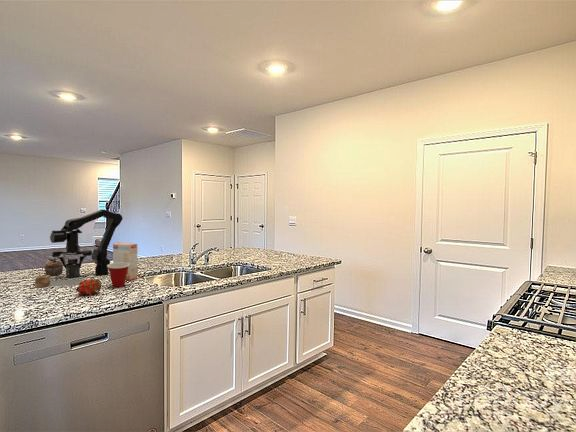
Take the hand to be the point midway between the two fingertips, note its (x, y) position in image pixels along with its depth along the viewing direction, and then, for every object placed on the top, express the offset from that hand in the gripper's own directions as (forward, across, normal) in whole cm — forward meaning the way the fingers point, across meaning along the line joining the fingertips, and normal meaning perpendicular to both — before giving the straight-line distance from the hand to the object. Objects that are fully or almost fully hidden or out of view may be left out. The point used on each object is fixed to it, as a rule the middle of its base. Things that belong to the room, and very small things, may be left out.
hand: (72, 268), depth 195 cm
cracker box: (+7, -28, +7) cm, 30 cm away
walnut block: (+5, +10, +18) cm, 21 cm away
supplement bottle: (+7, 0, 0) cm, 7 cm away
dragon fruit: (+7, -14, +38) cm, 41 cm away
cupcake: (+7, +13, -16) cm, 22 cm away
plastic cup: (+7, -26, +25) cm, 37 cm away
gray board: (+7, +3, +14) cm, 16 cm away
